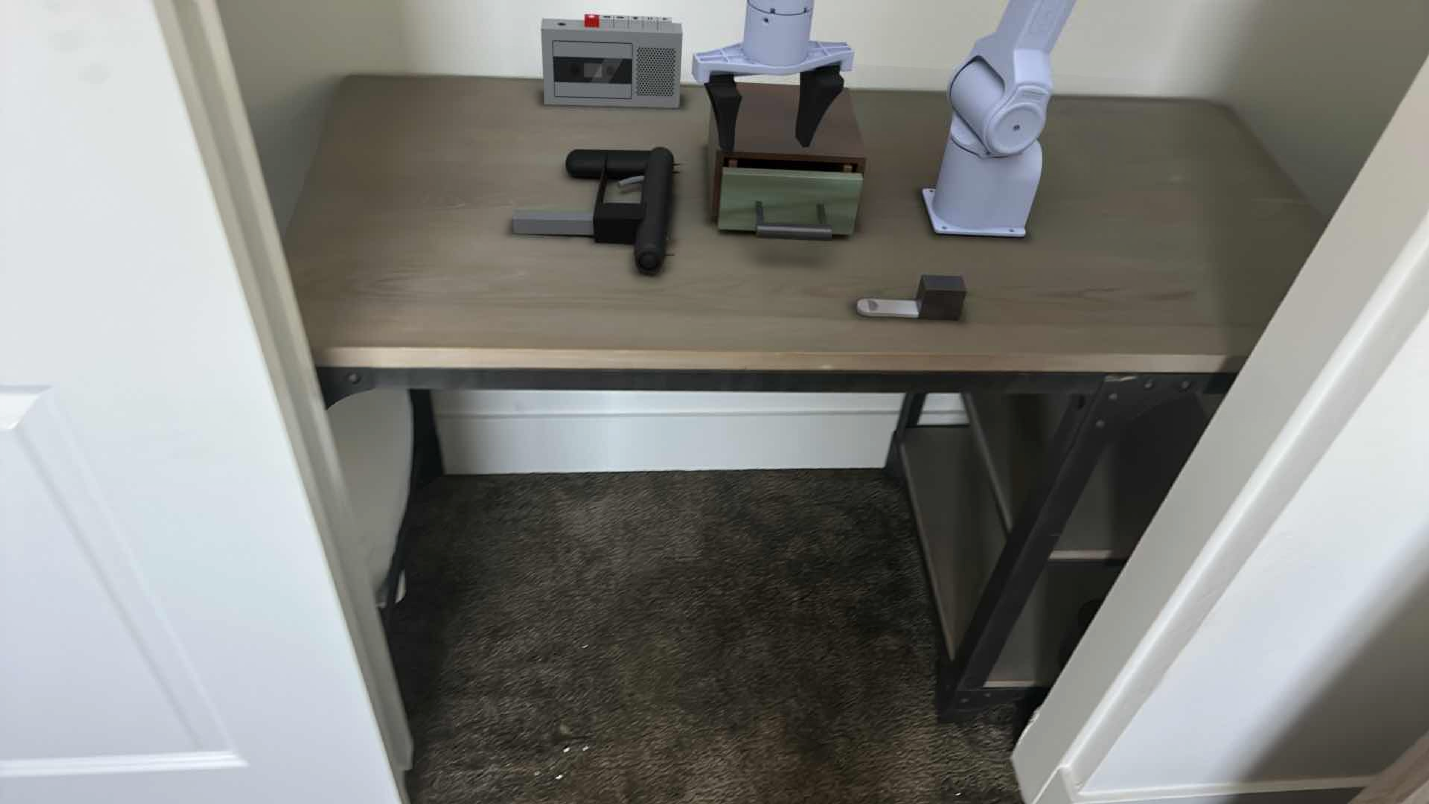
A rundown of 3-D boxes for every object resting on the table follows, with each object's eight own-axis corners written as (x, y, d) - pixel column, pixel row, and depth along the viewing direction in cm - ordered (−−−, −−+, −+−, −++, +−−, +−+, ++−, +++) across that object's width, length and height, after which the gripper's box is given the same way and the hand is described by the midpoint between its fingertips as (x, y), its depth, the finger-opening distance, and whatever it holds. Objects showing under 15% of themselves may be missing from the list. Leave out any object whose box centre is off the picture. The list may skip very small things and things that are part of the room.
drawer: (859, 266, 99) (871, 210, 95) (719, 261, 98) (724, 203, 94) (837, 165, 113) (846, 111, 108) (714, 159, 112) (718, 105, 107)
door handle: (500, 246, 95) (676, 250, 94) (532, 139, 109) (685, 141, 109) (505, 276, 97) (676, 279, 97) (536, 167, 112) (685, 169, 111)
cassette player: (544, 104, 120) (540, 19, 113) (545, 93, 122) (541, 9, 115) (679, 108, 122) (683, 24, 115) (677, 97, 123) (681, 14, 117)
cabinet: (853, 227, 105) (867, 156, 100) (710, 221, 104) (716, 149, 99) (837, 154, 116) (848, 87, 110) (707, 148, 115) (712, 80, 110)
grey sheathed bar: (953, 305, 97) (962, 276, 95) (958, 320, 95) (967, 290, 93) (854, 301, 96) (860, 272, 94) (857, 316, 95) (863, 286, 92)
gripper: (840, -21, 92) (820, 118, 102) (685, -12, 89) (678, 132, 98) (872, 11, 88) (848, 154, 97) (709, 22, 84) (700, 170, 93)
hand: (764, 146), depth 97 cm, fingers open, 7 cm apart
